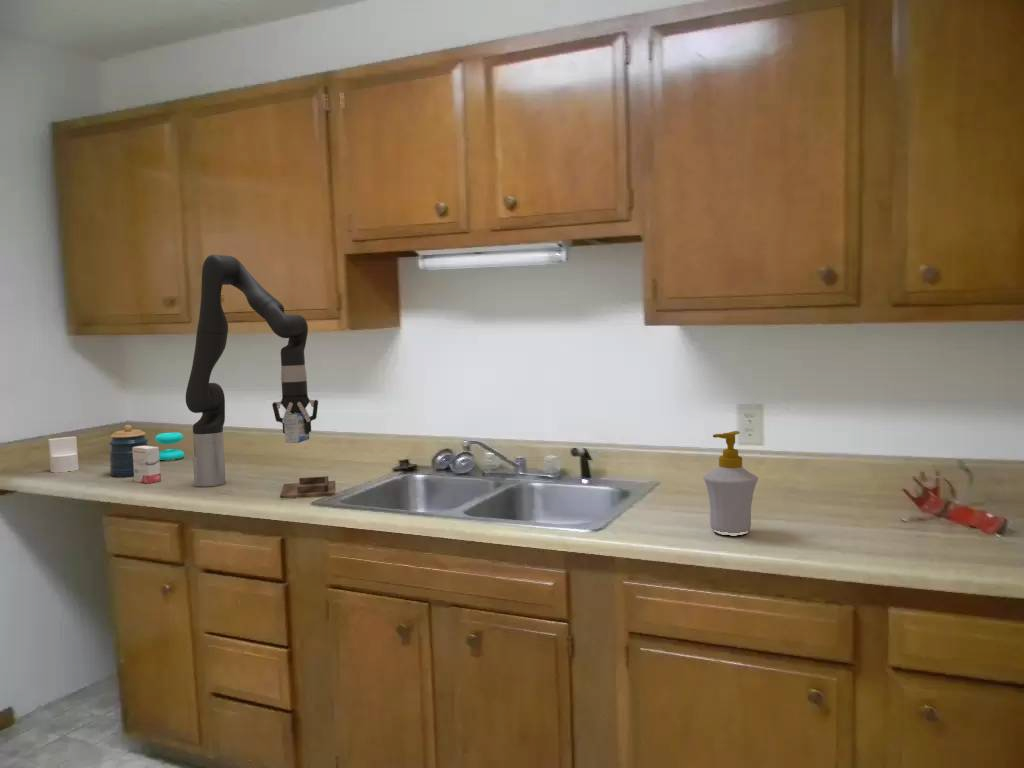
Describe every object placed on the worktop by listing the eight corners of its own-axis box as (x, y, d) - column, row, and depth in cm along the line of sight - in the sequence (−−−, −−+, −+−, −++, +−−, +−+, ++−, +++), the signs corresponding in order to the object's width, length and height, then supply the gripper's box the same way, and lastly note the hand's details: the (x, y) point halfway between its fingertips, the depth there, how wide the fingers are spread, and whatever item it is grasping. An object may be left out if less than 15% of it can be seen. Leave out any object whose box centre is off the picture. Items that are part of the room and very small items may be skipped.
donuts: (161, 432, 323) (186, 431, 323) (163, 457, 323) (188, 456, 324) (150, 436, 313) (177, 435, 313) (152, 461, 313) (178, 461, 314)
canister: (146, 469, 299) (144, 421, 297) (154, 474, 288) (151, 424, 286) (107, 473, 291) (104, 424, 290) (113, 479, 281) (110, 428, 279)
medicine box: (298, 443, 248) (297, 414, 247) (284, 443, 249) (283, 414, 248) (309, 439, 256) (308, 411, 255) (296, 439, 256) (295, 411, 256)
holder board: (280, 499, 244) (279, 489, 244) (284, 486, 262) (283, 477, 262) (334, 495, 248) (334, 485, 247) (335, 483, 265) (334, 474, 265)
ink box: (161, 481, 275) (159, 446, 274) (148, 483, 271) (146, 448, 270) (146, 478, 280) (144, 444, 279) (133, 481, 276) (131, 446, 275)
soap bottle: (692, 531, 200) (692, 431, 198) (729, 523, 206) (729, 426, 204) (731, 543, 189) (731, 437, 187) (769, 534, 196) (769, 432, 193)
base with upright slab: (76, 467, 305) (73, 435, 304) (80, 470, 298) (78, 438, 297) (48, 470, 300) (46, 438, 299) (52, 474, 293) (50, 440, 292)
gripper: (318, 378, 256) (321, 431, 257) (271, 380, 253) (274, 434, 254) (317, 379, 248) (320, 434, 250) (268, 382, 246) (272, 437, 247)
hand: (297, 434), depth 252 cm, fingers closed on medicine box, 5 cm apart
